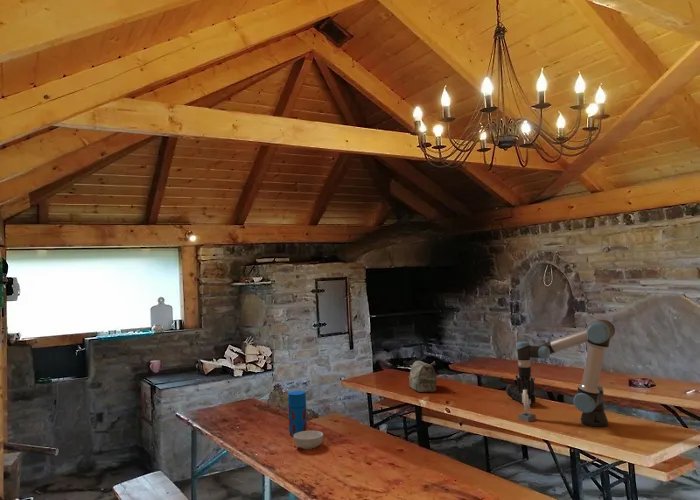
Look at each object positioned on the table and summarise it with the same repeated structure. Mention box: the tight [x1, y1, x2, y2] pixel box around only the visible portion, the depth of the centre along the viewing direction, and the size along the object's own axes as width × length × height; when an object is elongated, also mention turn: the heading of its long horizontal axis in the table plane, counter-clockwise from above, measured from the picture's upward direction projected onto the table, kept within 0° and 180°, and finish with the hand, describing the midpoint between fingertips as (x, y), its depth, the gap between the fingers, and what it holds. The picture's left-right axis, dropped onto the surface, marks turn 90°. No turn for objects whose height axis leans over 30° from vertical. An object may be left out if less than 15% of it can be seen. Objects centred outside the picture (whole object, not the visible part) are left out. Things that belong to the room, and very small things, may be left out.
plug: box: [523, 388, 531, 412], centre depth 326 cm, size 4×4×13 cm
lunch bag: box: [408, 360, 438, 393], centre depth 417 cm, size 26×18×22 cm
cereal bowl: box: [293, 429, 324, 450], centre depth 290 cm, size 17×17×7 cm
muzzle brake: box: [505, 384, 537, 407], centre depth 366 cm, size 10×28×10 cm, turn 8°
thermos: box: [287, 390, 308, 437], centre depth 315 cm, size 11×11×25 cm
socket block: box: [517, 411, 537, 423], centre depth 326 cm, size 7×7×3 cm
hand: (526, 403), depth 326 cm, fingers closed on plug, 3 cm apart
